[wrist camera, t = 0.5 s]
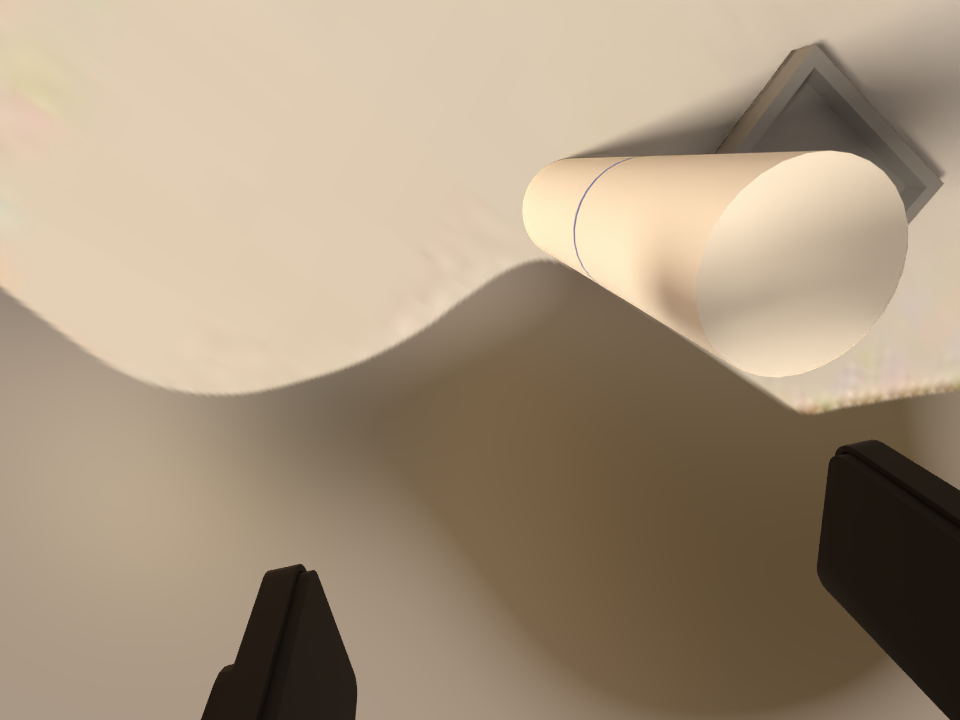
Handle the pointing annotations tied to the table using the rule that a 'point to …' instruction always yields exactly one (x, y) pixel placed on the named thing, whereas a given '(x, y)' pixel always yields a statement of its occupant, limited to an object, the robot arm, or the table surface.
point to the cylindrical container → (733, 246)
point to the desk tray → (829, 125)
